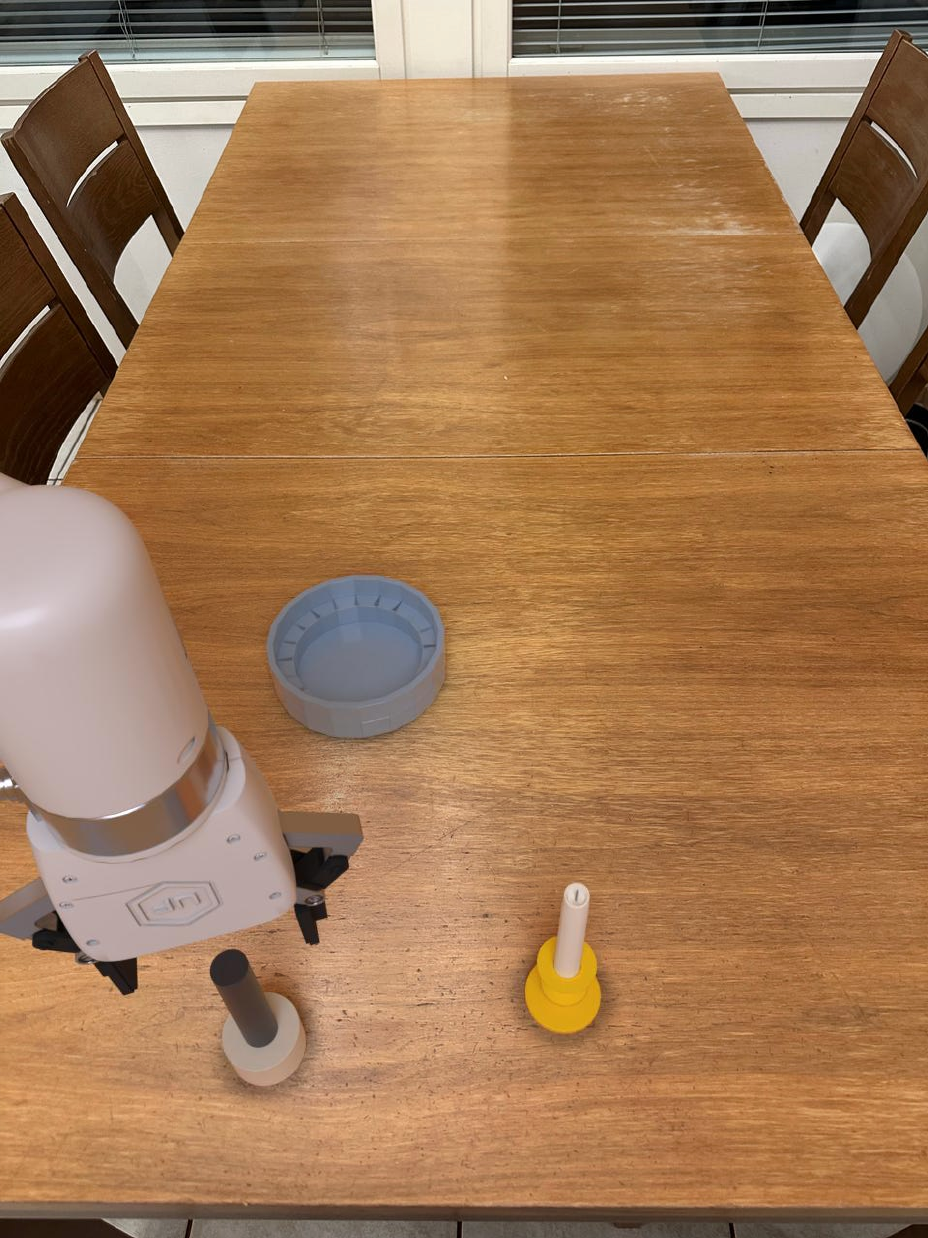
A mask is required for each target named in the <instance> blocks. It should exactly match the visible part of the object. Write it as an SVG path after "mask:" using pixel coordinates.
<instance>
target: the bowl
mask: <svg viewBox="0 0 928 1238" xmlns="http://www.w3.org/2000/svg"><path fill="white" fill-rule="evenodd" d="M446 647H447V646H446V629H445V626H444V624H443V619H442V617H441V615H440V611H439V609H438V608H437V607H436V606H435V604H434V603H433V602H432V601H431V599H429V598H428V597H427V595H426V594H425V593H424V592H422V591H421V590H419V589H417V588H415V587H414V586H413V585H411V584H409V583H407V582H405V581H403V580H398V579H394V578H391V577H388V576H383V575H379V574H350V575H345V576H341V577H336V578H335V577H334V578H330V579H327V580H324V581H322V582H320V583H317V584H315V585H313V586H311V587H309V588H307V589H304V590H302V591H301V592H300V593H299V594H297V595H296V596H295V597H294V598H292V599H291V600H290V601H289V602H287V603H286V604H284V606H283V607H282V608H281V610H280V611H279V613H278V614H277V615H276V617H275V619H274V620H273V621H272V623H271V625H270V627H269V631H268V635H267V639H266V643H265V649H266V656H267V657H266V658H267V663H268V667H269V671H270V675H271V678H272V679H271V680H272V682H273V686H274V689H275V693H276V696H277V699H278V700H279V702H280V703H281V704H282V706H283V707H284V709H285V711H286V712H287V714H288V715H289V716H290V717H291V718H293V719H294V720H296V721H297V722H298V723H300V724H301V725H302V726H304V727H305V728H307V729H308V730H310V731H314V732H317V733H320V734H323V735H326V736H329V737H332V738H343V739H344V738H346V739H347V738H349V739H350V738H351V739H365V738H370V737H374V736H378V735H379V736H380V735H384V734H388V733H392V732H394V731H396V730H398V729H399V728H401V727H403V726H405V725H407V724H409V723H411V722H413V721H415V720H417V719H418V717H420V716H421V715H422V714H423V712H425V711H426V710H427V709H428V708H429V707H430V706H431V705H432V704H433V703H434V702H435V700H436V699H437V696H438V695H439V693H440V691H441V689H442V687H443V685H444V683H445V680H446V671H447V670H446V669H447V648H446Z"/></svg>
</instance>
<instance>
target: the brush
mask: <svg viewBox="0 0 928 1238" xmlns="http://www.w3.org/2000/svg"><path fill="white" fill-rule="evenodd" d="M209 978H210V980H211V981H212V983H213V985H214V987H215V988H216V990H217V992H218V994H219V995H220V998H221V999H222V1001H223V1003H224V1005H225V1006H226V1008H227V1010H228V1012H229V1013H228V1015H227V1017H226V1019H225V1020H224V1024H223V1028H222V1031H221V1044H222V1048H223V1051H224V1054H225V1056H226V1057H227V1059H228V1060H229V1062H230V1064H231V1066H232V1067H233V1069H234V1071H235V1072H236V1074H237V1075H238V1076H239V1077H240V1078H241V1079H242V1080H244V1081H245V1082H247V1083H248V1084H251V1085H253V1086H259V1087H268V1086H269V1087H270V1086H273V1085H276V1084H279V1083H281V1082H283V1081H285V1080H286V1079H288V1078H289V1077H291V1075H293V1073H294V1072H295V1071H296V1070H297V1069H298V1068H299V1066H300V1065H301V1062H303V1059H304V1057H305V1053H306V1049H307V1034H306V1030H305V1028H304V1025H303V1022H302V1020H301V1017H300V1015H299V1012H298V1010H297V1008H296V1006H295V1005H294V1003H292V1001H290V1000H289V999H288V998H287V997H286V996H284V995H282V994H280V993H277V992H272V991H263V989H262V987H261V984H260V982H259V980H258V978H257V976H256V973H255V972H254V969H253V967H252V965H251V963H250V961H249V959H248V956H247V955H246V954H245V953H244V952H243V951H241V950H240V949H237V948H229V949H225V950H222V951H221V952H219V953H218V954H217V955H216V956H215V957H214V958H213V960H212V961H211V963H210V965H209Z"/></svg>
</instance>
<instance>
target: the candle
mask: <svg viewBox="0 0 928 1238" xmlns="http://www.w3.org/2000/svg"><path fill="white" fill-rule="evenodd" d="M590 898H591V896H590V891H589V889H588V887H587V886H585V885H584V884H583V883H580V882H572V883H570V884H569V885H567V886H566V888H565V889H564V892H563V897H562V900H561V906H560V912H559V913H560V914H559V920H558V927H557V935H556V936H552V937H550V938H549V939H548V940H546V941H545V942H544V943H543V945H541V947H540V948H539V951H538V954H537V958H536V963H535V965H534V966H533V968H532V969H531V970H530V971H529V972H528V973H529V974H528V975H527V978H526V980H525V985H524V1000H525V1004H526V1007H527V1010H528V1012H529V1014H530V1015H531V1017H532V1018H533V1020H534V1021H535V1022H536V1023H538V1024H539V1025H540V1026H541V1027H542V1028H544V1029H546V1030H548V1031H550V1032H551V1033H556V1034H563V1035H564V1034H574V1033H576V1032H580V1031H582V1030H584V1029H585V1028H586V1027H588V1026H589V1025H591V1023H592V1022H593V1021H594V1020H595V1018H596V1017H597V1015H598V1012H599V1009H600V1007H601V1000H602V992H601V991H602V990H601V984H600V983H599V980H598V978H597V976H596V975H597V970H598V963H597V962H598V961H597V956H596V954H595V952H594V950H593V949H592V947H591V946H590V944H589V943H588V942H586V941H585V935H586V931H587V923H588V917H589V909H590Z"/></svg>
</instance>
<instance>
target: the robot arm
mask: <svg viewBox="0 0 928 1238" xmlns="http://www.w3.org/2000/svg"><path fill="white" fill-rule="evenodd" d="M171 611H172V610H171V609H170V606H169V603H168V601H167V597H166V595H165V593H164V589H163V588H162V585H161V583H160V580H159V577H158V574H157V572H156V569H155V566H154V564H153V561H152V559H151V556H150V553H149V551H148V549H147V546H146V544H145V542H144V539H143V537H142V535H141V533H140V531H139V529H138V527H136V525H135V524H134V522H133V521H132V520H131V519H130V518H129V516H128V515H127V513H125V512H124V511H123V510H122V509H121V508H120V507H119V506H117V505H116V504H114V503H113V502H112V500H110V499H107V498H105V497H104V496H101V495H99V494H97V493H95V492H93V491H90V490H87V489H84V488H80V487H76V486H71V485H70V486H69V485H62V484H36V485H35V484H34V485H30V484H27V483H25V482H23V481H20V480H18V479H16V478H13V477H11V476H9V475H7V474H5V473H4V472H1V471H0V762H1V764H2V766H1V767H0V803H3V802H5V801H10V802H12V803H17V802H18V804H20V805H21V804H22V805H23V804H24V805H25V806H26V807H27V809H28V812H27V814H26V815H27V816H26V823H25V825H26V826H25V827H26V835H27V839H28V843H29V847H30V851H31V854H32V856H33V859H34V863H35V865H36V868H37V871H38V873H39V875H40V876H39V877H37V878H36V879H34V880H32V881H31V882H29V883H28V884H26V885H24V886H22V887H21V888H19V889H18V890H15V891H13V892H12V893H10V894H9V895H7V896H5V897H3V898H1V900H0V934H1V935H2V934H3V935H6V936H9V937H12V938H15V939H18V940H21V941H25V940H30V941H31V946H32V948H34V949H36V950H40V951H52V952H59V953H70V954H74V961H75V963H76V964H77V965H81V966H87V965H88V966H89V965H93V966H94V967H95V968H96V969H97V971H98V972H99V973H100V975H101V976H102V977H103V978H106V977H108V978H109V979H110V981H111V982H112V983H113V984H114V986H115V987H116V989H117V990H118V991H119V992H120V994H121V995H123V996H124V997H125V996H127V995H131V994H135V992H136V991H137V990H138V989H139V977H138V976H139V975H138V974H139V973H138V957H139V958H140V957H143V956H148V955H151V954H155V953H159V952H163V951H167V950H172V949H174V948H179V947H183V946H188V945H191V944H195V943H199V942H202V941H206V940H210V939H213V938H217V937H221V936H225V935H228V934H232V933H236V932H239V931H243V930H246V929H251V928H253V927H257V926H260V925H263V924H266V923H269V922H272V921H274V920H277V919H278V918H281V917H282V916H284V915H285V914H287V913H289V911H291V909H293V910H294V915H295V918H296V921H297V923H298V926H299V929H300V932H301V935H302V937H303V940H304V942H305V944H306V945H308V944H309V946H314V945H318V944H320V943H321V942H320V935H319V929H318V923H317V921H322V920H326V919H329V915H328V910H327V904H326V899H327V897H326V896H327V895H326V891H325V890H326V889H327V888H328V887H329V886H331V885H332V884H333V883H334V882H335V881H336V880H337V879H339V878H340V877H341V876H342V875H344V873H345V872H347V871H348V870H349V868H350V863H349V861H350V859H351V857H354V856H355V854H356V852H357V851H358V850H359V848H360V846H361V844H362V843H363V841H364V839H365V837H364V832H363V827H362V824H361V823H362V822H361V819H360V816H359V815H358V814H357V813H354V812H353V813H350V812H349V813H348V812H317V811H281V808H280V806H279V804H278V802H277V800H276V798H275V795H274V793H273V791H272V789H271V788H270V786H269V783H268V781H267V780H266V778H265V777H264V775H263V773H262V771H261V770H260V768H259V766H258V765H257V763H256V762H255V760H254V759H253V758H252V756H251V755H250V754H249V752H248V751H247V749H246V748H245V747H244V745H242V744H241V742H240V741H239V740H238V739H237V738H236V737H235V736H234V734H233V733H232V732H231V731H230V730H229V729H228V728H226V726H224V725H216V724H215V721H214V718H213V717H212V714H211V711H210V709H209V706H208V704H207V701H206V698H205V697H204V694H203V691H202V688H201V687H200V683H199V681H198V678H197V676H196V674H195V673H196V672H195V670H194V668H193V666H192V663H191V659H190V657H189V654H188V652H187V650H186V647H185V644H184V642H183V640H182V638H181V635H180V632H179V629H178V626H177V624H176V622H175V619H174V617H173V613H172V612H171ZM135 990H136V991H135Z"/></svg>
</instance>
